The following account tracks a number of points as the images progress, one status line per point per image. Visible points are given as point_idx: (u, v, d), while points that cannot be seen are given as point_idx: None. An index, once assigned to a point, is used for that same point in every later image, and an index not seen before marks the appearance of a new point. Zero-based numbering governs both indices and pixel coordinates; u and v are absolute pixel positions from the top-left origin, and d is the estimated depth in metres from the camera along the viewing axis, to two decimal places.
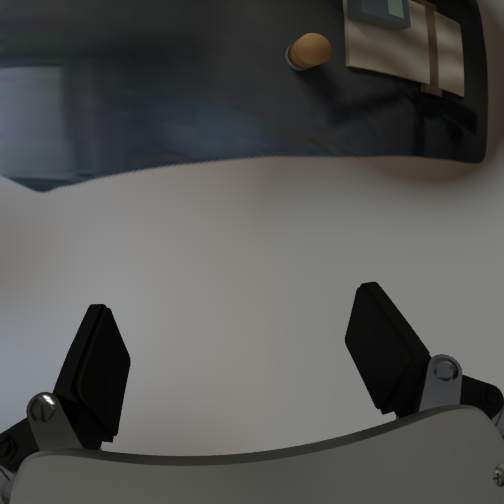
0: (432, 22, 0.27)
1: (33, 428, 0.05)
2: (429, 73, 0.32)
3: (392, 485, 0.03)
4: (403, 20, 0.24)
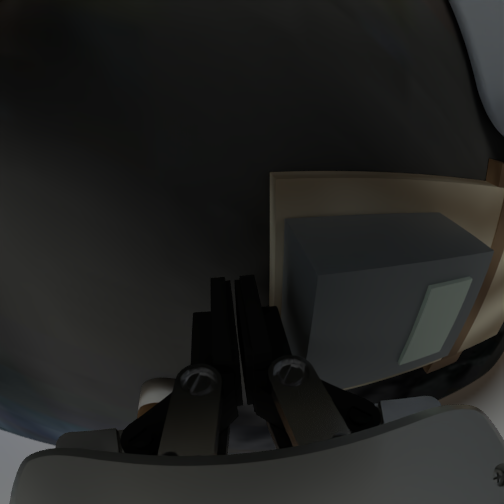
0: None
1: (174, 392, 0.06)
2: None
3: (392, 485, 0.03)
4: (435, 353, 0.11)
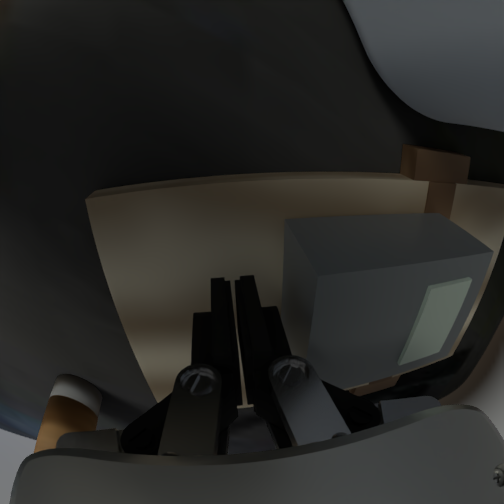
0: None
1: (174, 392, 0.06)
2: None
3: (392, 485, 0.03)
4: (435, 353, 0.11)
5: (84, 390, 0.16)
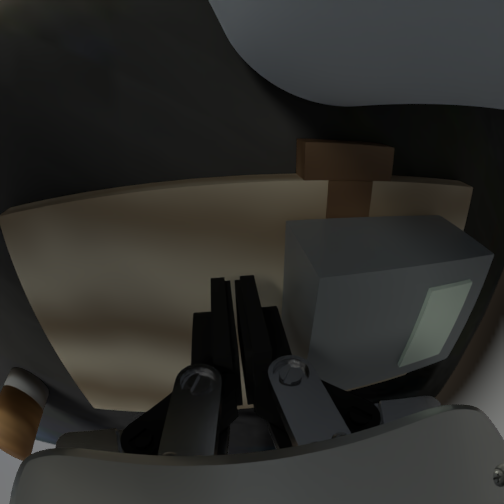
0: None
1: (174, 392, 0.06)
2: None
3: (392, 485, 0.03)
4: (435, 355, 0.11)
5: (30, 382, 0.15)
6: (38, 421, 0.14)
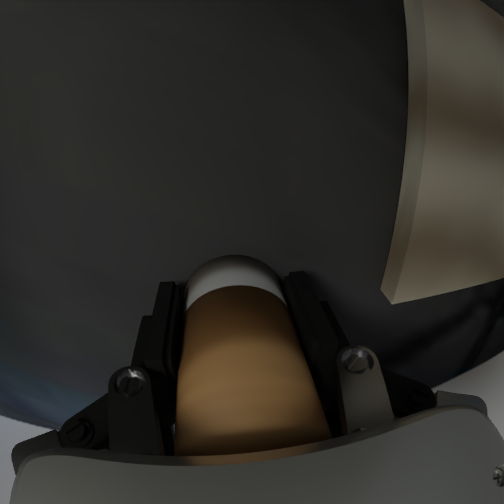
0: None
1: (111, 398, 0.06)
2: None
3: (392, 485, 0.03)
4: None
5: (272, 279, 0.11)
6: None
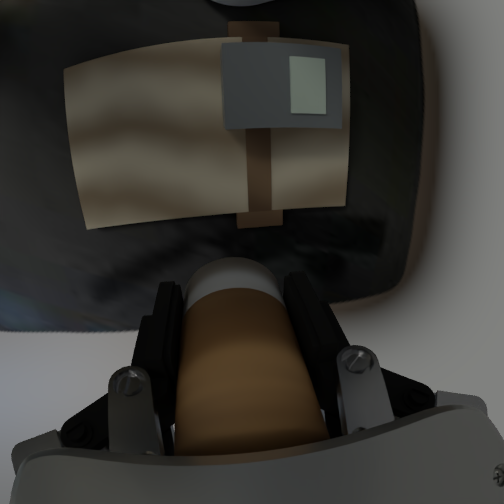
0: None
1: (110, 398, 0.06)
2: (246, 190, 0.24)
3: (392, 485, 0.03)
4: (325, 118, 0.18)
5: (271, 281, 0.11)
6: None
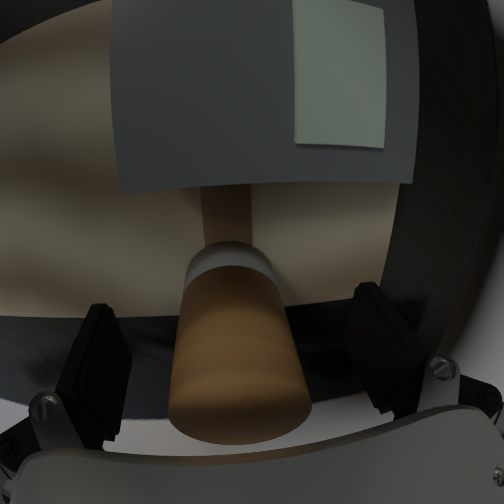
0: None
1: (35, 427, 0.05)
2: None
3: (392, 485, 0.03)
4: (380, 157, 0.07)
5: (264, 262, 0.12)
6: None
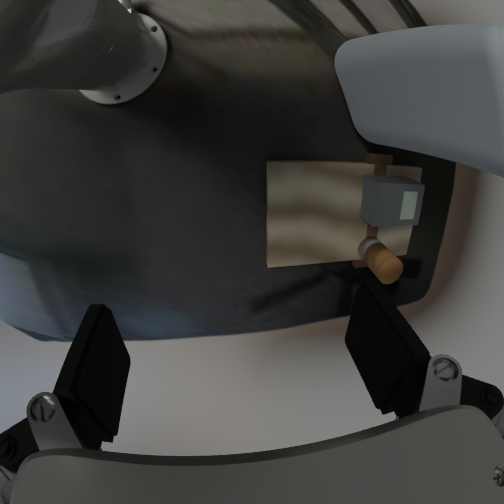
0: None
1: (34, 428, 0.05)
2: None
3: (392, 485, 0.03)
4: (412, 220, 0.36)
5: (381, 242, 0.41)
6: None
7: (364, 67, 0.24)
